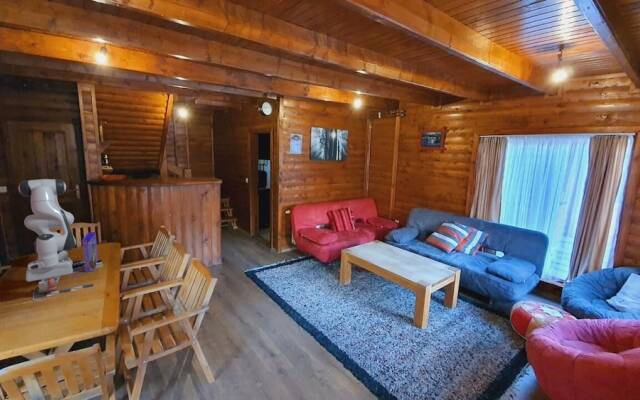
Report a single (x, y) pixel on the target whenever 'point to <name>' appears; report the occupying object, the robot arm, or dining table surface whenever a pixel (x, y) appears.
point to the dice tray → (36, 292)
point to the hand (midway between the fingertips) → (51, 284)
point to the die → (42, 287)
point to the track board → (61, 292)
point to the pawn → (51, 283)
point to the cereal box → (90, 251)
